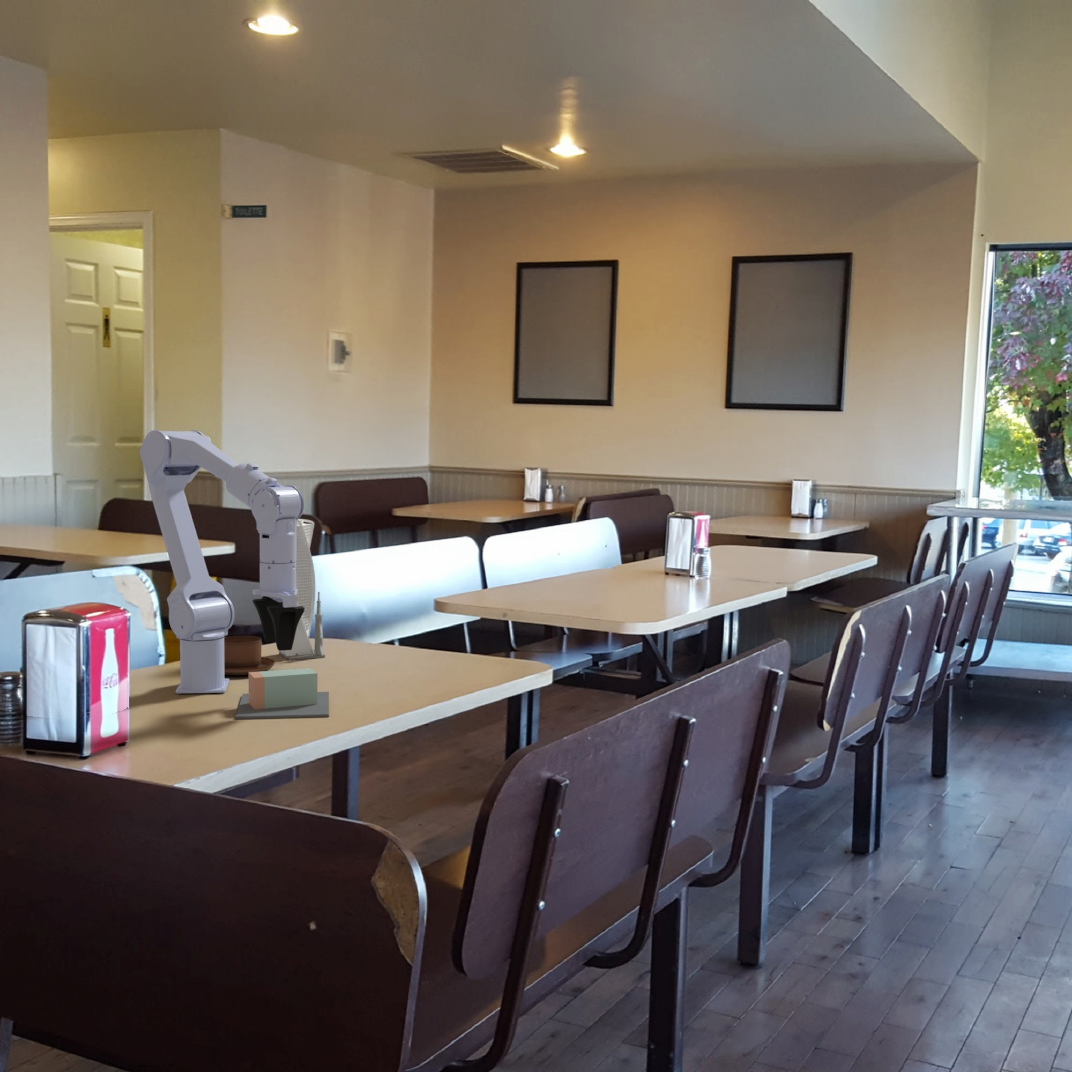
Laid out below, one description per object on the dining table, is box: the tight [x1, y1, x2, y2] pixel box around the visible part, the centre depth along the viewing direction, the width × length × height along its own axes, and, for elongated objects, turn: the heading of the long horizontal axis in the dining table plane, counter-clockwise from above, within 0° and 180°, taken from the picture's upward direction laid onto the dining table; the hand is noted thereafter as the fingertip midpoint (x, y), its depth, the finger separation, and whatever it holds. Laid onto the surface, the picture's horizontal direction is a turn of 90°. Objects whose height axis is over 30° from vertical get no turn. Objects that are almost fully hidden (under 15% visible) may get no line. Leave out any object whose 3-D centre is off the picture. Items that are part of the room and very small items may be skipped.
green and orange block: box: [248, 667, 318, 709], centre depth 195 cm, size 10×4×5 cm, turn 115°
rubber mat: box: [235, 691, 330, 720], centre depth 195 cm, size 16×14×1 cm
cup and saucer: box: [224, 635, 275, 676], centre depth 221 cm, size 12×12×6 cm
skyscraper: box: [278, 518, 326, 661], centre depth 236 cm, size 8×8×28 cm
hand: (278, 645), depth 196 cm, fingers open, 7 cm apart
